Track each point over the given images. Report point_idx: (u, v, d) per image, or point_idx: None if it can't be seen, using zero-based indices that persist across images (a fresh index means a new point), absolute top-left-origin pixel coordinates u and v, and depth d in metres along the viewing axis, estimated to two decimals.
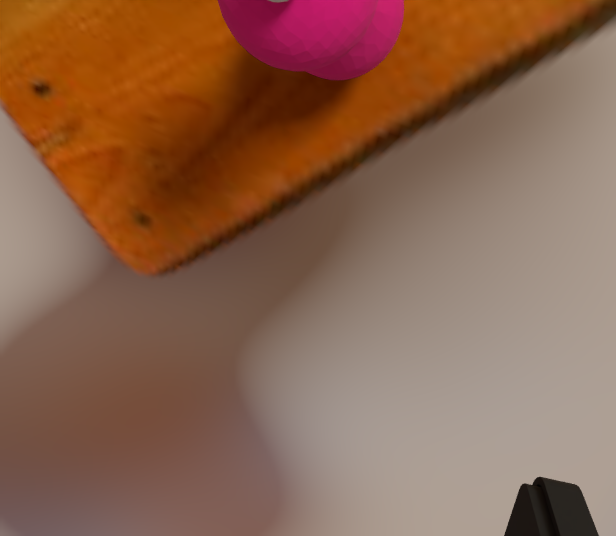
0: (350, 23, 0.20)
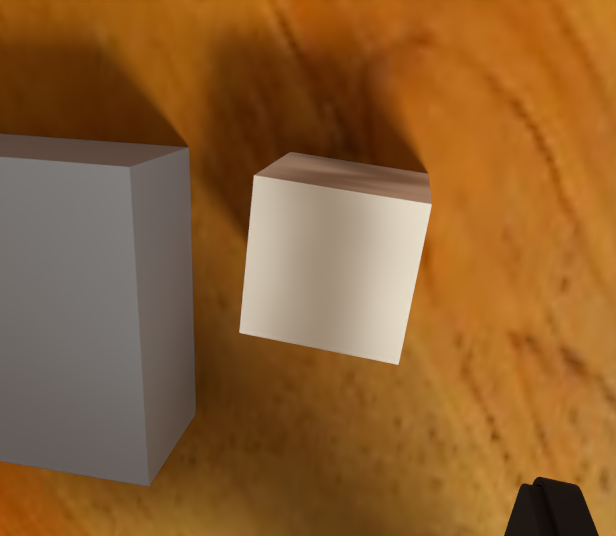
0: None
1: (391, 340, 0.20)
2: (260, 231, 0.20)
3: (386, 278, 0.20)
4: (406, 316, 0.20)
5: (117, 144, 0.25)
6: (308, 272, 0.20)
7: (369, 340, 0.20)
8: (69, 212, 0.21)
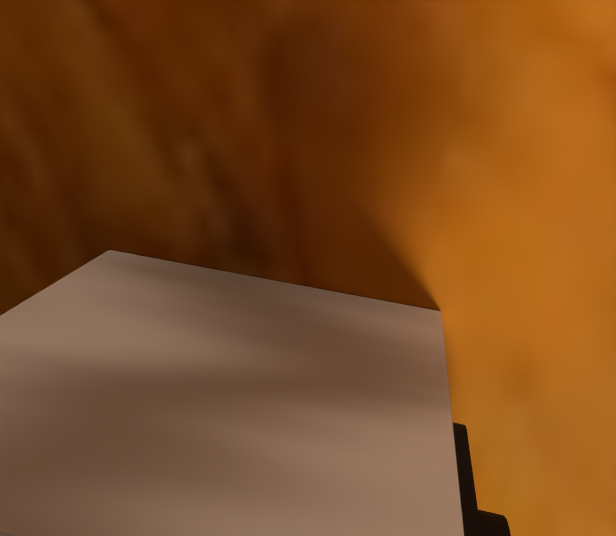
0: None
1: None
2: None
3: None
4: None
5: None
6: None
7: None
8: None
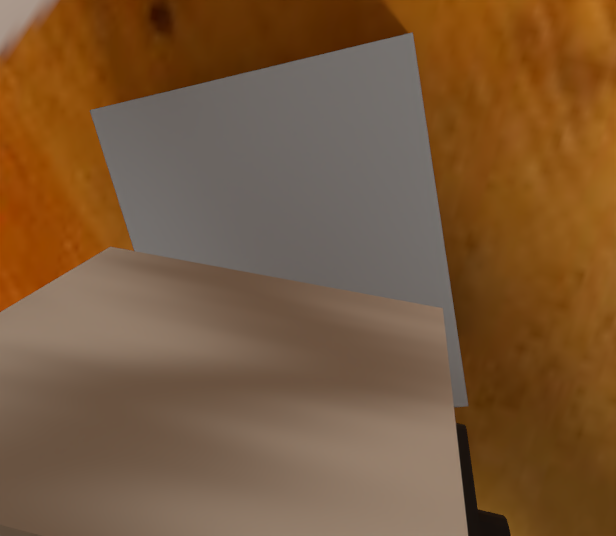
0: None
1: None
2: None
3: None
4: None
5: None
6: None
7: None
8: (347, 108, 0.19)
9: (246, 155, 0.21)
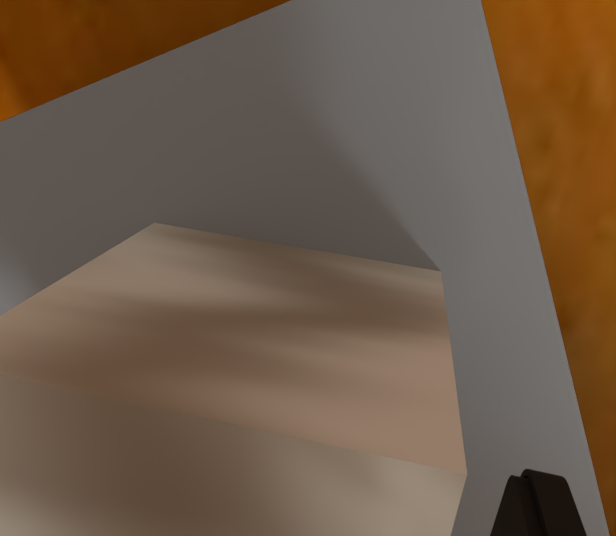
0: None
1: None
2: None
3: None
4: None
5: None
6: None
7: None
8: (352, 94, 0.10)
9: (183, 202, 0.12)
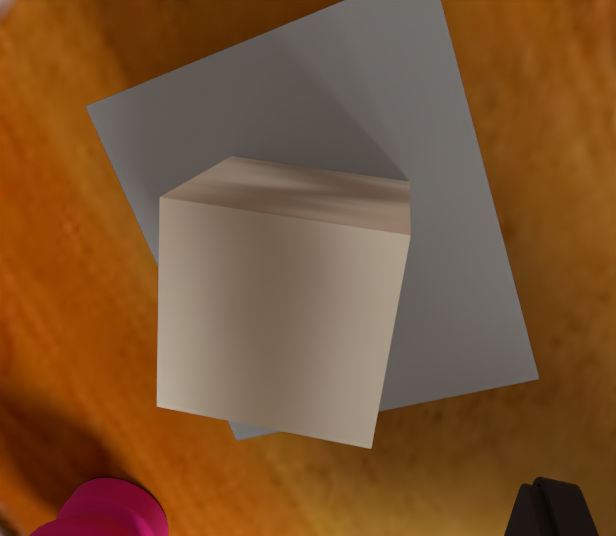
0: None
1: (360, 417, 0.15)
2: (174, 273, 0.14)
3: (350, 337, 0.14)
4: (380, 387, 0.14)
5: None
6: (243, 329, 0.14)
7: (330, 417, 0.15)
8: (367, 62, 0.17)
9: (260, 132, 0.19)
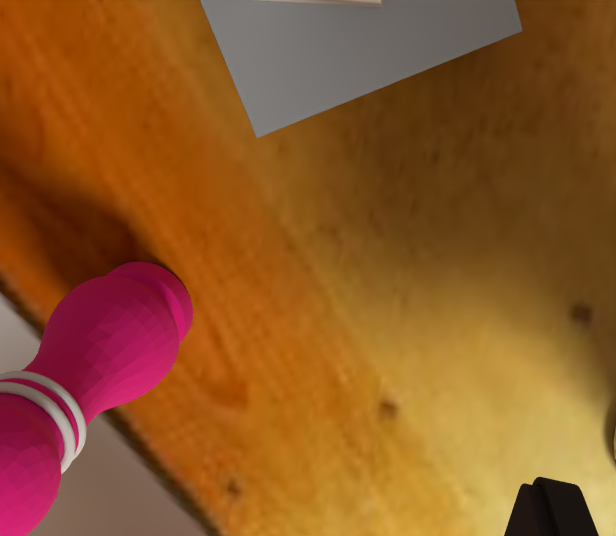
0: None
1: None
2: None
3: None
4: None
5: None
6: None
7: None
8: None
9: None
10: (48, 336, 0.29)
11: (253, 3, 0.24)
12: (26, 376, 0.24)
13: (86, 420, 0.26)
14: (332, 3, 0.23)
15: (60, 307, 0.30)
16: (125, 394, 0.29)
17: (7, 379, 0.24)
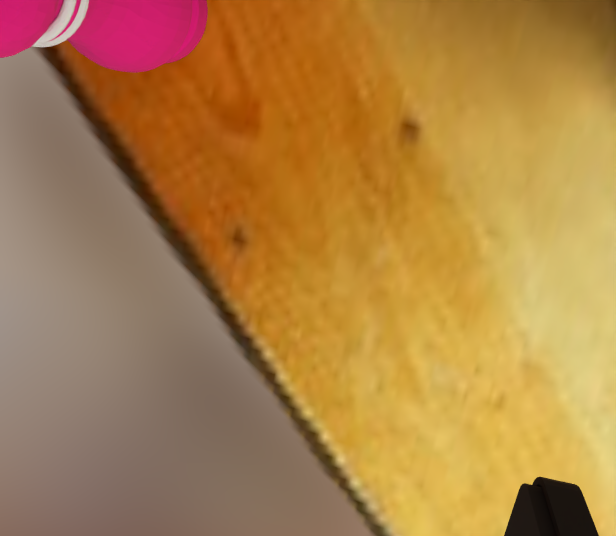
0: None
1: None
2: None
3: None
4: None
5: None
6: None
7: None
8: None
9: None
10: None
11: None
12: None
13: None
14: None
15: None
16: (133, 24, 0.27)
17: None
